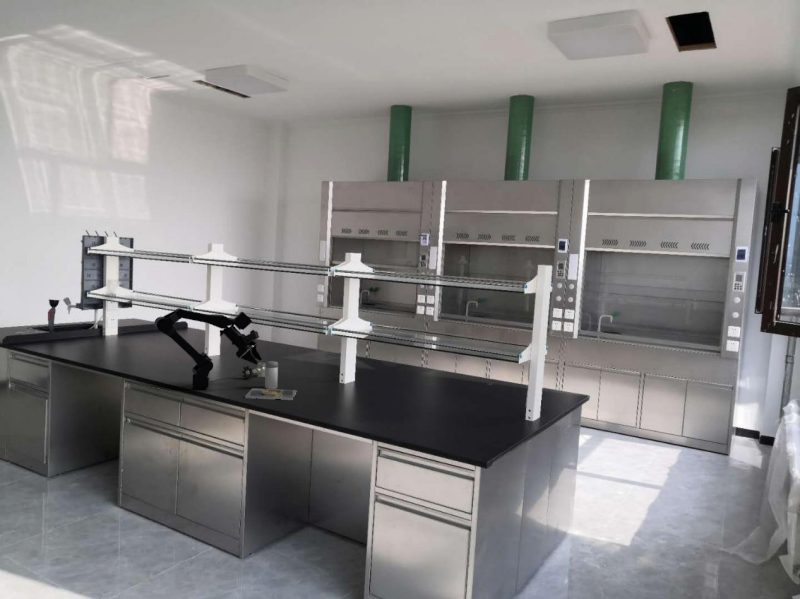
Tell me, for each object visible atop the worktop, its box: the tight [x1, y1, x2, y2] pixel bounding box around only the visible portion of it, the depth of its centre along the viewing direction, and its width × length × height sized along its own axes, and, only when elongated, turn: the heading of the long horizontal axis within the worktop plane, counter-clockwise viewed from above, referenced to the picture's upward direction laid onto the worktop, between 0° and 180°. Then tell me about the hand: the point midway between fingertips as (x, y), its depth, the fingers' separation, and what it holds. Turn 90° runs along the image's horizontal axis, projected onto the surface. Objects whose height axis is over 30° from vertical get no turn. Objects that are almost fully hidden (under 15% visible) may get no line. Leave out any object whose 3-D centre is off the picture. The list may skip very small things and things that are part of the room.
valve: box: [241, 362, 266, 380], centre depth 307 cm, size 7×7×12 cm
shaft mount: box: [244, 387, 298, 401], centre depth 274 cm, size 20×14×2 cm
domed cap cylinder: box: [264, 360, 279, 389], centre depth 287 cm, size 6×6×12 cm
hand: (259, 361), depth 286 cm, fingers open, 9 cm apart
